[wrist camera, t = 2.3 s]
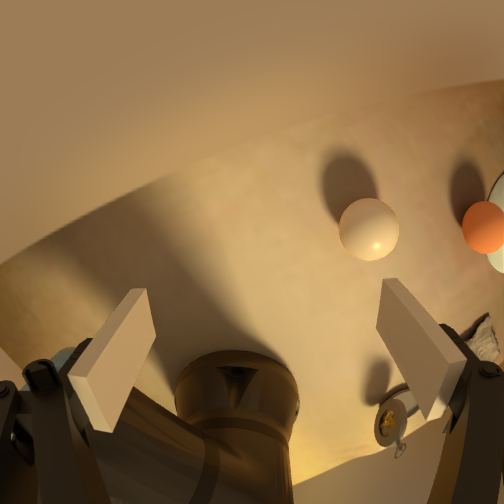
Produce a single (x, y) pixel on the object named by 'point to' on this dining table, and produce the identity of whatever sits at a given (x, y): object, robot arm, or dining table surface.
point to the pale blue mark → (500, 196)
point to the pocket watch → (394, 419)
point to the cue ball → (368, 229)
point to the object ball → (484, 227)
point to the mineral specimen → (484, 342)
